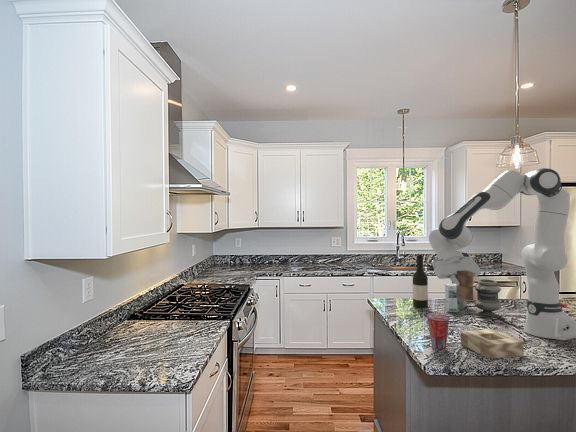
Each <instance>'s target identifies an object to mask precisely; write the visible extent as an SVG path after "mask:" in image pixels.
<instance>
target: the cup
mask: <svg viewBox="0 0 576 432" xmlns="http://www.w3.org/2000/svg"><path fill="white" fill-rule="evenodd" d="M426 317H427V321H428V323H427V324H428V329H429V330H428V331H429V337H430V338H429V339H430V342H431V343H430V344H431V348H433V349H437V350H444V349H445V350H446V348H447V347H446V346H447V341H448V335H449V334H448V332H449V322H450V319H451V318H450V316H449V315H446V314H440V313H427V314H426Z"/></svg>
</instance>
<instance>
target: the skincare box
mask: <svg viewBox="0 0 576 432" xmlns="http://www.w3.org/2000/svg"><path fill="white" fill-rule="evenodd" d="M451 284H455V283H454V282H453V281H452V280H451ZM466 306H467V301H463V300H460V299H459V310H460V309H461V310H464V309H465V308H466Z"/></svg>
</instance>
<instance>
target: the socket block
mask: <svg viewBox="0 0 576 432" xmlns="http://www.w3.org/2000/svg"><path fill="white" fill-rule="evenodd" d="M460 345H461V346H464V347H465V348H467V349H469V350H471V351H473V352H475V353H477V354H478V355H480V356H482V357H485V359H488V360H490V359H499V358H509V357H517V356H519V357H520V356H524V355H525V354H524V353H525V351H524V348H525V346H524V341H523V340H520V339H518V338H515V337H513V336H511V335H508V334H505V333H503V332H502V331H501V332H500V331H499V330H496V329H493V328H491V329H489V328H488V329H475V330H465V331H460Z"/></svg>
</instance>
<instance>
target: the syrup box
mask: <svg viewBox="0 0 576 432" xmlns="http://www.w3.org/2000/svg"><path fill="white" fill-rule="evenodd" d="M444 290H445V292H444V295H445V297H444V299H445V300H444V301H445V302H444V303H445V310H446V311H447V312H449V313H459V312H460V309H459V299H457V288H456V284H452V283H445V284H444Z"/></svg>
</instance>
